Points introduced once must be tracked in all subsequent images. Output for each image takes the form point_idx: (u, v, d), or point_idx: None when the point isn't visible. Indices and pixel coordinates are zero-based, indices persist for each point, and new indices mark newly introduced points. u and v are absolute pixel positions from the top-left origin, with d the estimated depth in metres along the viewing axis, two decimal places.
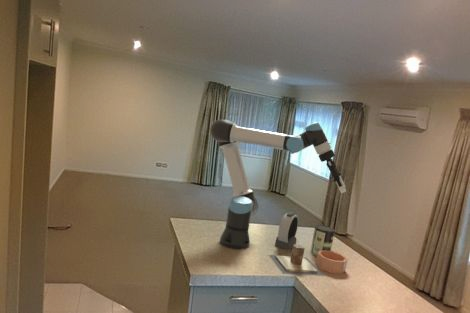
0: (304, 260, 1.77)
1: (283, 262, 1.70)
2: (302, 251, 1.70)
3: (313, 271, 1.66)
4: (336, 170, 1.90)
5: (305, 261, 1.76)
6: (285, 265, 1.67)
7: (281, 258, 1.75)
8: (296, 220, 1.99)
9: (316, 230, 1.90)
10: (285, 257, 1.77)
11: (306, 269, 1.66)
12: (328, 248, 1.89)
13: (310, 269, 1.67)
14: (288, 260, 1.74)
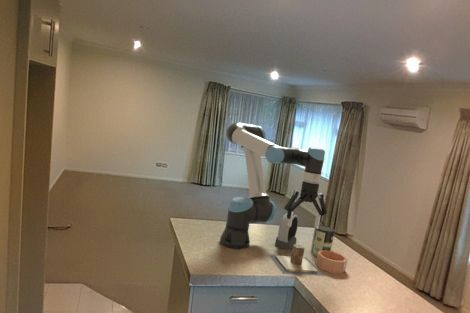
0: (304, 260, 1.77)
1: (283, 262, 1.70)
2: (302, 251, 1.70)
3: (313, 271, 1.66)
4: (316, 207, 1.70)
5: (305, 261, 1.76)
6: (285, 265, 1.67)
7: (281, 258, 1.75)
8: (296, 220, 1.99)
9: (316, 230, 1.90)
10: (285, 257, 1.77)
11: (306, 269, 1.66)
12: (328, 248, 1.89)
13: (310, 269, 1.67)
14: (288, 260, 1.74)
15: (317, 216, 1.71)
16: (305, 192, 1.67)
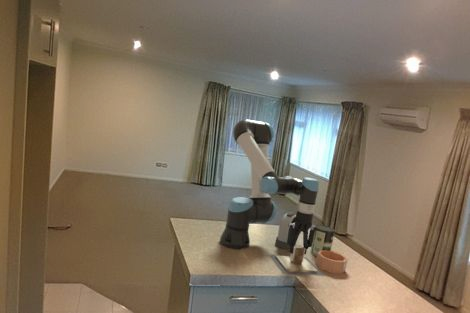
0: (304, 260, 1.77)
1: (283, 262, 1.70)
2: (302, 251, 1.70)
3: (313, 271, 1.66)
4: (304, 238, 1.70)
5: (305, 261, 1.76)
6: (285, 265, 1.67)
7: (281, 258, 1.75)
8: None
9: (316, 230, 1.90)
10: (285, 257, 1.77)
11: (306, 269, 1.66)
12: (328, 248, 1.89)
13: (310, 269, 1.67)
14: (288, 260, 1.74)
15: None
16: (298, 221, 1.68)
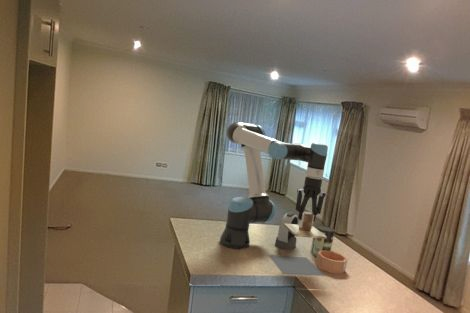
0: (313, 228, 1.75)
1: (292, 229, 1.68)
2: (311, 217, 1.68)
3: (322, 237, 1.64)
4: (313, 204, 1.69)
5: (314, 229, 1.74)
6: (294, 231, 1.65)
7: (289, 225, 1.73)
8: (296, 220, 1.99)
9: None
10: (294, 225, 1.75)
11: (315, 235, 1.64)
12: (328, 248, 1.89)
13: (319, 235, 1.65)
14: (297, 227, 1.72)
15: None
16: (307, 187, 1.66)
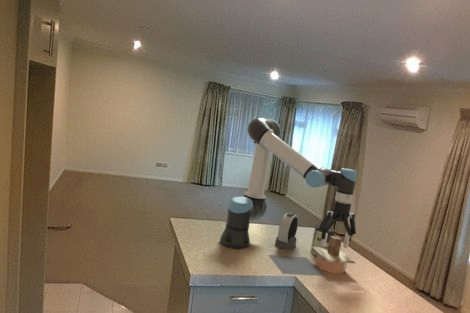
0: (340, 251, 1.81)
1: (321, 253, 1.74)
2: (339, 242, 1.73)
3: (351, 261, 1.70)
4: (346, 227, 1.74)
5: (341, 252, 1.79)
6: (323, 256, 1.71)
7: (318, 249, 1.78)
8: (296, 220, 1.99)
9: (316, 230, 1.90)
10: (321, 248, 1.80)
11: (344, 260, 1.70)
12: None
13: (348, 260, 1.70)
14: (325, 251, 1.77)
15: (346, 236, 1.76)
16: (337, 212, 1.72)
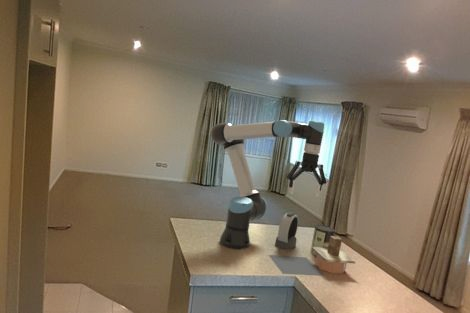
0: (340, 251, 1.81)
1: (321, 253, 1.74)
2: (339, 242, 1.73)
3: (351, 261, 1.70)
4: (316, 177, 1.81)
5: (341, 252, 1.79)
6: (323, 256, 1.71)
7: (318, 249, 1.78)
8: (296, 220, 1.99)
9: (316, 230, 1.90)
10: (321, 248, 1.80)
11: (344, 260, 1.70)
12: None
13: (348, 260, 1.70)
14: (325, 251, 1.77)
15: (317, 185, 1.83)
16: (306, 162, 1.79)
